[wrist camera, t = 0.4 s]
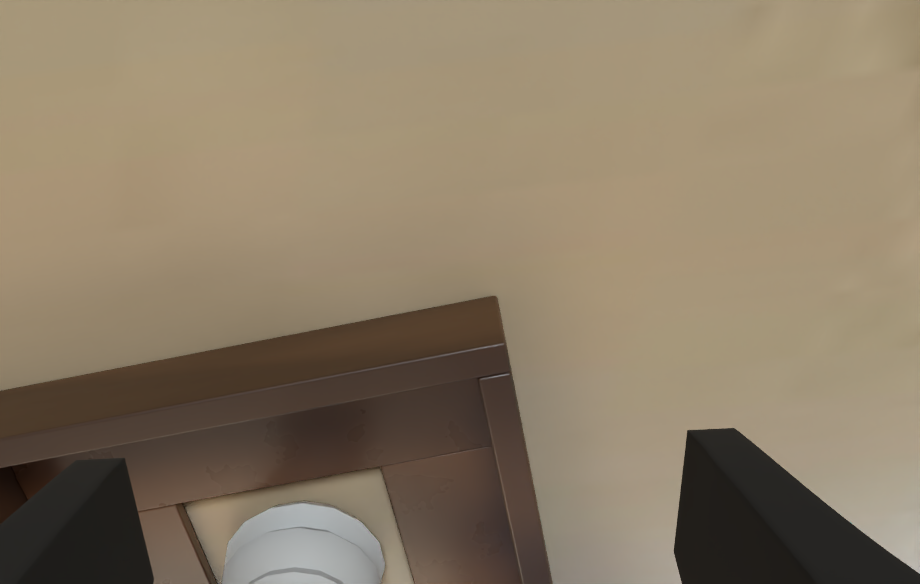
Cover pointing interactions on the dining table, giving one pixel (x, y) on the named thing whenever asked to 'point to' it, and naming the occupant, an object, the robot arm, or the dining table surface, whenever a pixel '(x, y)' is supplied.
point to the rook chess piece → (303, 548)
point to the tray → (308, 437)
